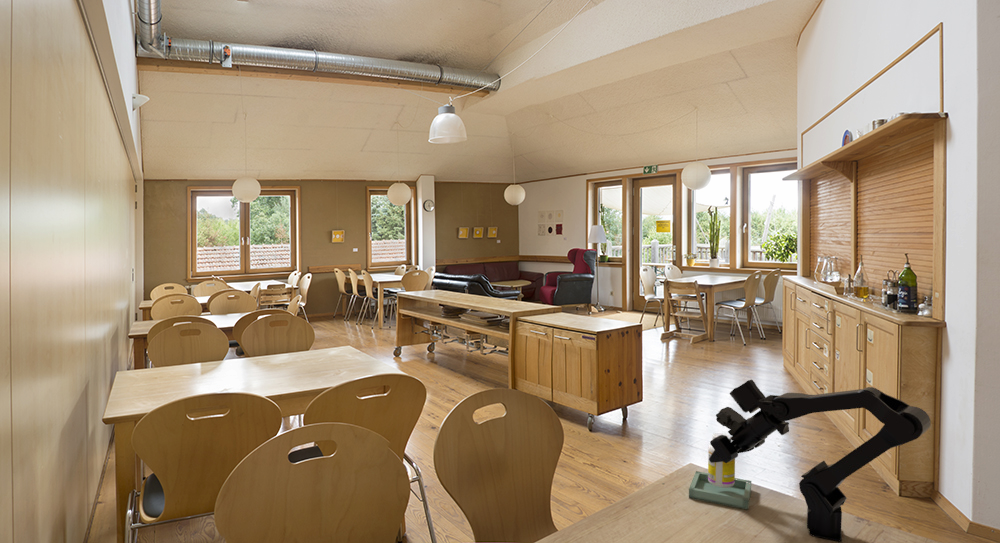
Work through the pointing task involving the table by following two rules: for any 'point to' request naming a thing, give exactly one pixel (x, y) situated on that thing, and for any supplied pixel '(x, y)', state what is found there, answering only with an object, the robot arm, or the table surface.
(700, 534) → the table surface
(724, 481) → the supplement bottle
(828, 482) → the robot arm
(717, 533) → the table surface
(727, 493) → the tub
